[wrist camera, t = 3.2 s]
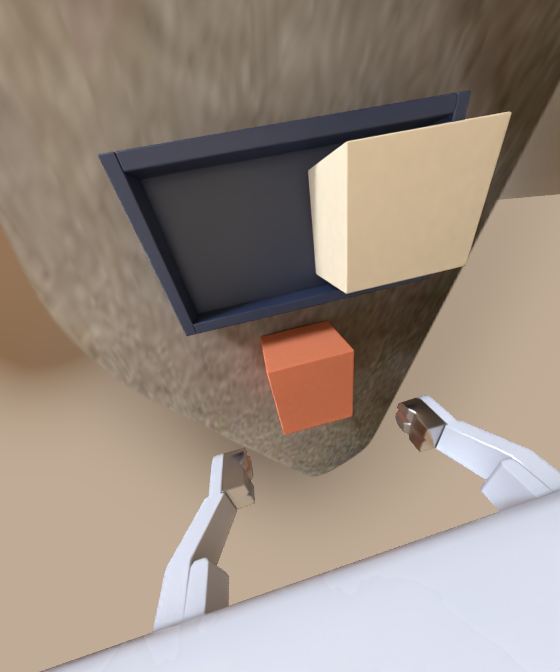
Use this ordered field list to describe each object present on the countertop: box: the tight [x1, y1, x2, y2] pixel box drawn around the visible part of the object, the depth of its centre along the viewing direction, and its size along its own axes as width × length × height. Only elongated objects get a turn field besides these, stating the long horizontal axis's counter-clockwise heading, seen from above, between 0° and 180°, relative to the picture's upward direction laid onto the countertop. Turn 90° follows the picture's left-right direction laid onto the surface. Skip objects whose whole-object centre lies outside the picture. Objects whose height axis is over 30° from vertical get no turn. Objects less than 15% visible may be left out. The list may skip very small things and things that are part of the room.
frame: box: [98, 91, 471, 336], centre depth 10 cm, size 15×8×2 cm, turn 100°
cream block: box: [308, 112, 511, 294], centre depth 9 cm, size 6×5×4 cm
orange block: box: [260, 321, 354, 435], centre depth 14 cm, size 6×5×4 cm
